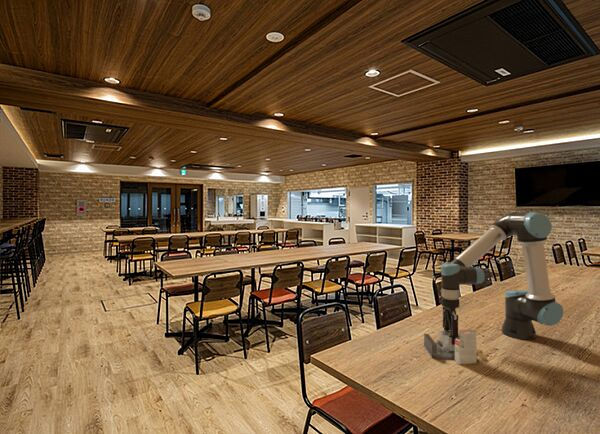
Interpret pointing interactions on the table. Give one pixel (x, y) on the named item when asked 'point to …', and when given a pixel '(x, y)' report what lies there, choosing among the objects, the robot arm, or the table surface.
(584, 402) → the table surface
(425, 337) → the grey bookend
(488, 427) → the table surface
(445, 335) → the block
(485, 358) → the brass key
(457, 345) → the ink box
